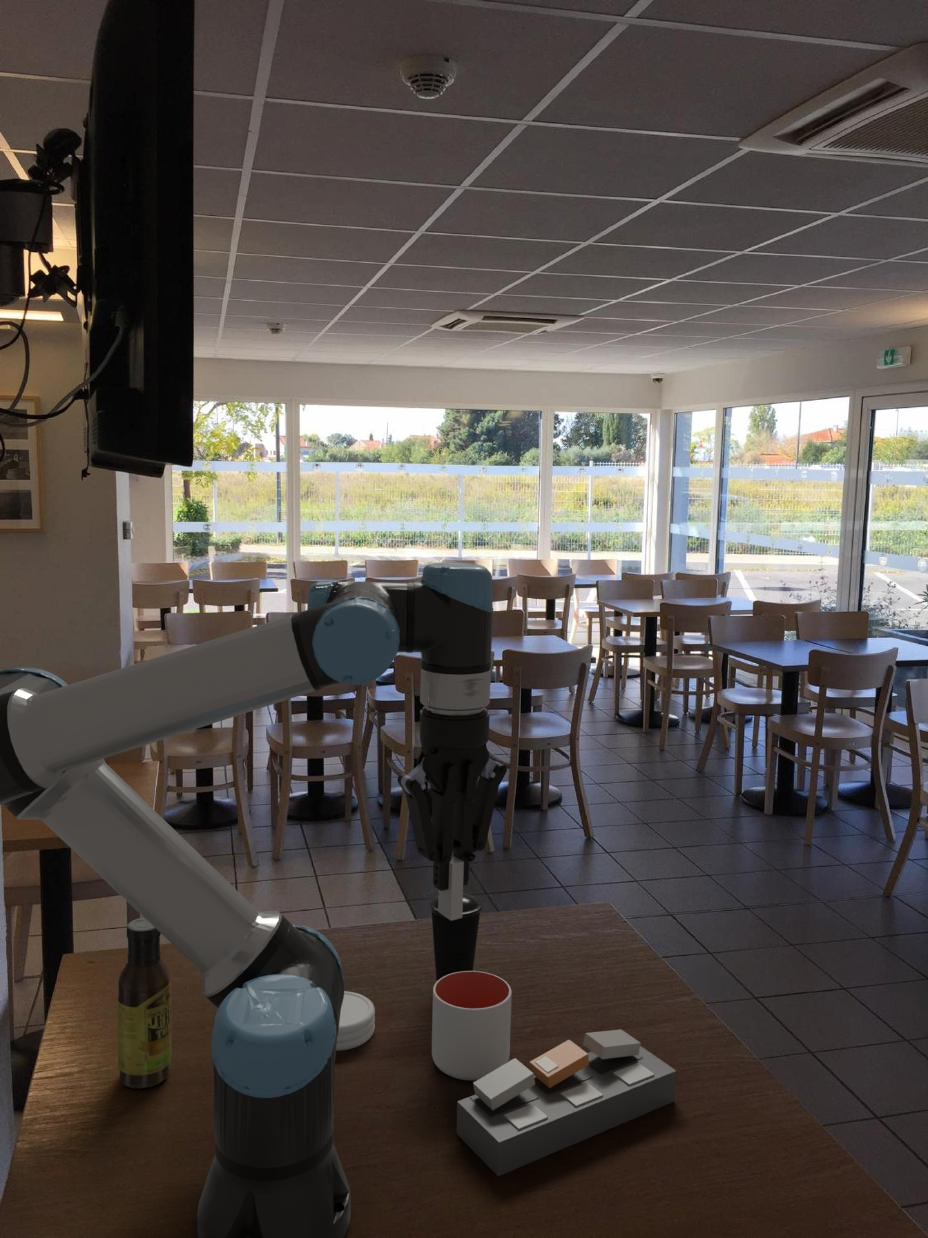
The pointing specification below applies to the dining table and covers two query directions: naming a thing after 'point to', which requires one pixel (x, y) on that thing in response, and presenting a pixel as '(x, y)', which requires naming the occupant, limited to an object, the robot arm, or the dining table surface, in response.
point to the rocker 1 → (504, 1084)
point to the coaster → (355, 1021)
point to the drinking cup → (455, 937)
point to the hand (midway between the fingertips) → (450, 914)
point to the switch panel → (565, 1110)
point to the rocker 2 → (559, 1063)
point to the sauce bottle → (144, 1010)
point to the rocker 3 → (611, 1044)
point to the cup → (471, 1024)
